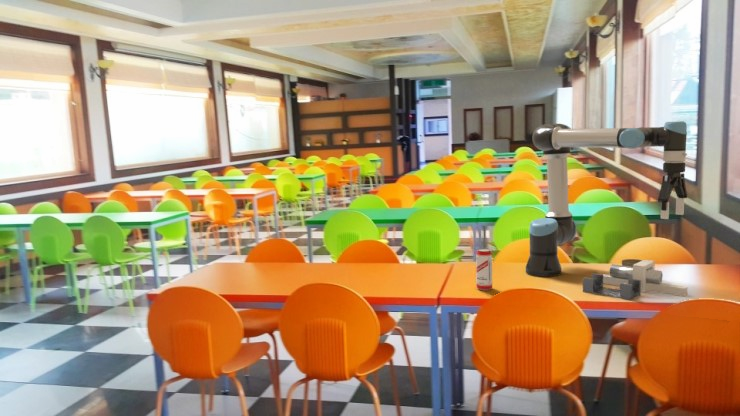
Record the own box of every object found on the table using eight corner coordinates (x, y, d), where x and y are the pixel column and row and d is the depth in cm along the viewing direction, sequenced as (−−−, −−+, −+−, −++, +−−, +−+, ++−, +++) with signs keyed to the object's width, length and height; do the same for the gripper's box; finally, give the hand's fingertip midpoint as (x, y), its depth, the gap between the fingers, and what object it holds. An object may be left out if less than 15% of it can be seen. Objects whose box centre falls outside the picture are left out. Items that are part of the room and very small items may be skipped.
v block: (582, 291, 216) (582, 277, 215) (593, 286, 222) (593, 273, 221) (630, 300, 203) (631, 285, 202) (640, 294, 209) (640, 280, 209)
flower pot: (651, 281, 226) (651, 264, 225) (624, 281, 228) (624, 264, 227) (644, 275, 236) (644, 258, 235) (618, 275, 238) (619, 258, 237)
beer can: (481, 285, 229) (480, 247, 227) (495, 288, 225) (494, 249, 223) (473, 289, 225) (473, 250, 223) (487, 291, 221) (487, 252, 219)
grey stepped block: (596, 285, 224) (596, 260, 223) (607, 279, 232) (608, 255, 230) (681, 299, 202) (682, 271, 201) (690, 292, 210) (691, 265, 208)
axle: (609, 278, 223) (609, 266, 222) (614, 274, 226) (614, 263, 226) (657, 285, 210) (657, 272, 209) (662, 281, 214) (662, 269, 213)
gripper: (670, 164, 204) (668, 221, 207) (697, 160, 220) (695, 213, 223) (649, 163, 210) (647, 219, 213) (677, 159, 226) (675, 212, 229)
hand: (672, 216), depth 218 cm, fingers open, 13 cm apart
